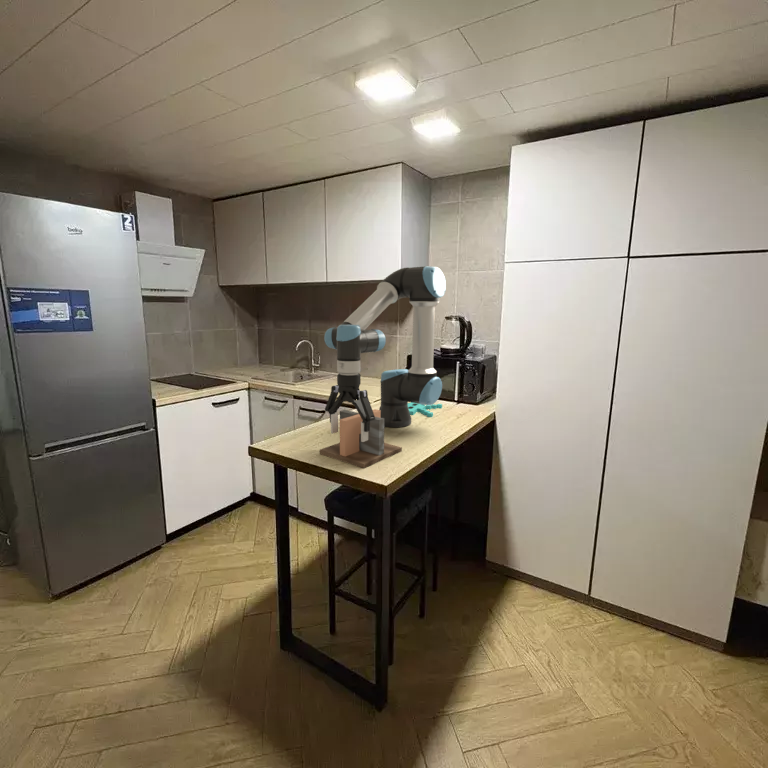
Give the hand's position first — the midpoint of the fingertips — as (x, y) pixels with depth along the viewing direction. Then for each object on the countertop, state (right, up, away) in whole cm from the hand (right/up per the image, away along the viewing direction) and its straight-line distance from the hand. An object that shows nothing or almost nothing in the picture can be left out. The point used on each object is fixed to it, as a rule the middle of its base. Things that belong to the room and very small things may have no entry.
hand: (349, 436), depth 138 cm
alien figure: (+28, +4, +65) cm, 71 cm away
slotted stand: (+4, -6, +6) cm, 9 cm away
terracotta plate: (+4, -5, +6) cm, 8 cm away
